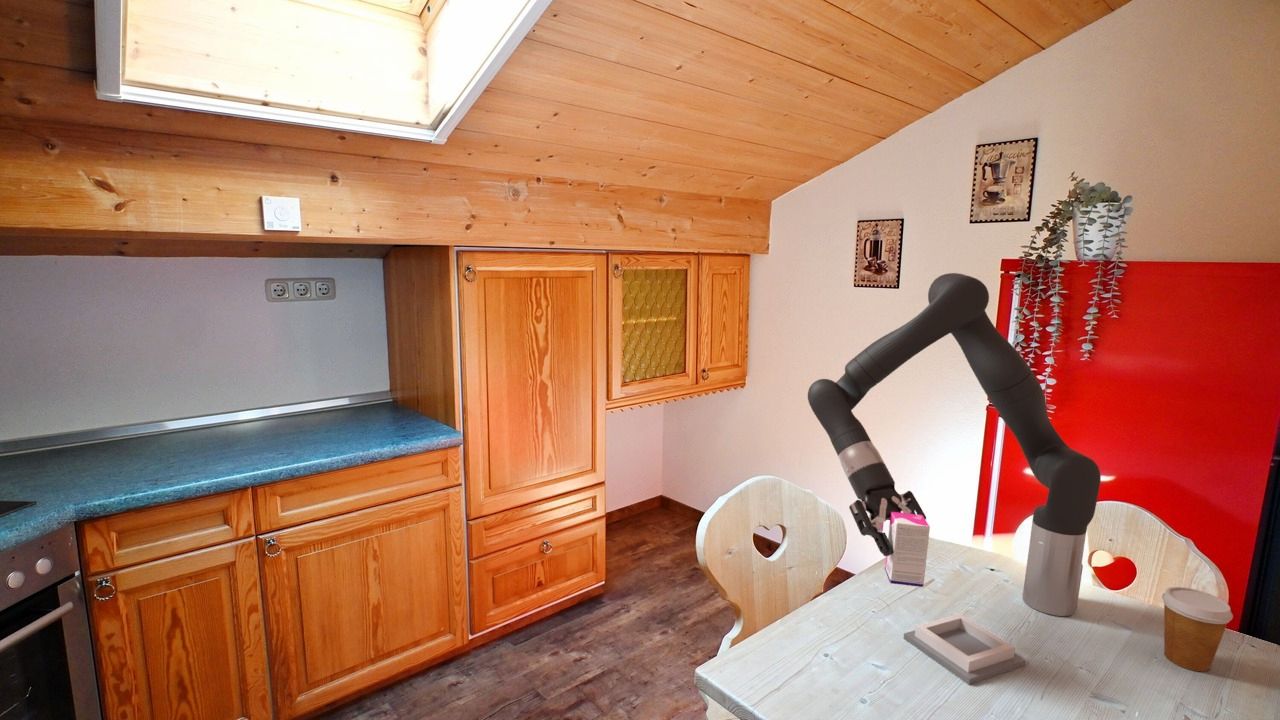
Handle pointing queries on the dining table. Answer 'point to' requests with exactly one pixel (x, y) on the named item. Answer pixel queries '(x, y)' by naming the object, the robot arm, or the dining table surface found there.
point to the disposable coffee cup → (1193, 627)
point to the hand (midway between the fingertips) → (907, 550)
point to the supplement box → (907, 549)
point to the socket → (965, 648)
